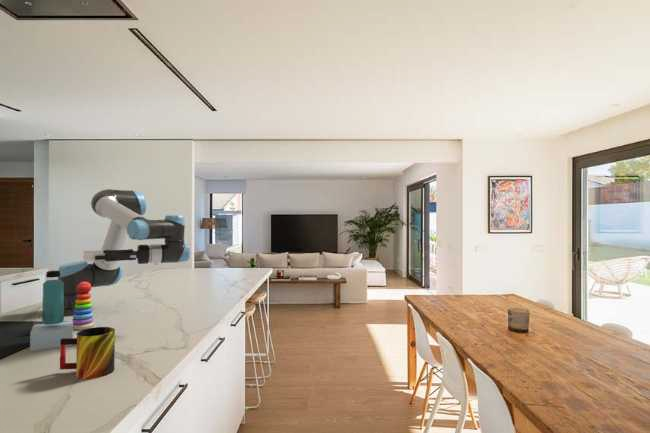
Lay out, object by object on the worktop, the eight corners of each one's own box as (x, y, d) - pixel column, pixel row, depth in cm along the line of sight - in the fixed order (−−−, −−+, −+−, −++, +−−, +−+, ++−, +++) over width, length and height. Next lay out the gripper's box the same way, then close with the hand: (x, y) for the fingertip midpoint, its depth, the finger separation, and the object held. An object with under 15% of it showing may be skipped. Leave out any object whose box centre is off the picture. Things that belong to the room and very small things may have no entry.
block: (72, 336, 149) (72, 320, 149) (72, 345, 139) (72, 328, 139) (33, 341, 143) (33, 325, 143) (30, 351, 132) (30, 333, 132)
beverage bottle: (68, 325, 143) (69, 270, 143) (50, 330, 137) (50, 272, 137) (55, 323, 145) (56, 269, 145) (37, 328, 139) (37, 271, 139)
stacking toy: (83, 331, 156) (83, 283, 156) (66, 329, 158) (66, 283, 158) (98, 325, 164) (98, 280, 164) (81, 324, 165) (82, 280, 166)
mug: (59, 372, 115) (60, 331, 115) (113, 364, 122) (114, 325, 122) (57, 384, 107) (57, 340, 107) (115, 374, 114) (115, 333, 114)
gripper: (153, 267, 147) (84, 270, 135) (144, 260, 167) (83, 262, 155) (153, 247, 147) (84, 248, 135) (144, 242, 167) (83, 243, 155)
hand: (83, 256), depth 145 cm, fingers open, 10 cm apart
